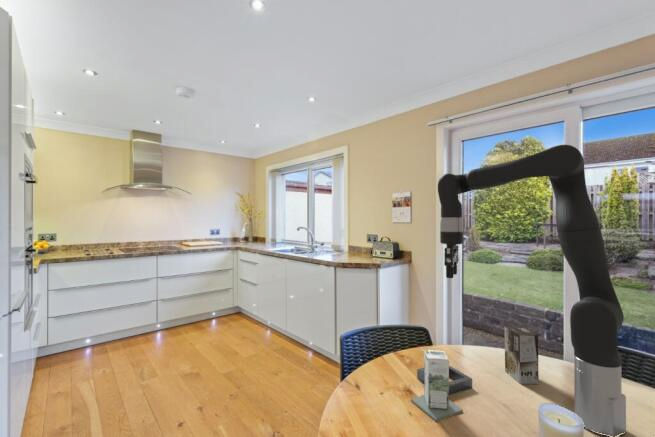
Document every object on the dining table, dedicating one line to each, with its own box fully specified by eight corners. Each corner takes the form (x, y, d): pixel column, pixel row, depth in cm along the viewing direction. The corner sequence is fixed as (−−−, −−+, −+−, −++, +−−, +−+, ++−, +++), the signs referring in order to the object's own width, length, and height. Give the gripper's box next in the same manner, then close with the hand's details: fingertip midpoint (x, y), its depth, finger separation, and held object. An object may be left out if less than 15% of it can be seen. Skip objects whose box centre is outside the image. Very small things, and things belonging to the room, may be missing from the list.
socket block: (472, 388, 96) (472, 378, 96) (443, 396, 91) (443, 387, 91) (443, 370, 107) (443, 362, 107) (417, 378, 102) (417, 369, 102)
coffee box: (539, 384, 98) (539, 335, 98) (519, 384, 98) (519, 335, 98) (522, 370, 107) (521, 325, 107) (504, 370, 107) (503, 325, 107)
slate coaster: (462, 411, 84) (462, 409, 84) (435, 421, 80) (435, 419, 80) (436, 393, 93) (436, 391, 93) (410, 400, 89) (410, 398, 89)
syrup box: (443, 398, 89) (443, 349, 90) (449, 410, 84) (449, 358, 84) (424, 397, 90) (423, 348, 90) (428, 409, 84) (427, 357, 84)
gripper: (460, 231, 98) (460, 280, 98) (465, 230, 111) (465, 273, 110) (436, 230, 102) (436, 278, 102) (444, 229, 115) (444, 272, 114)
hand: (451, 276), depth 106 cm, fingers open, 8 cm apart
